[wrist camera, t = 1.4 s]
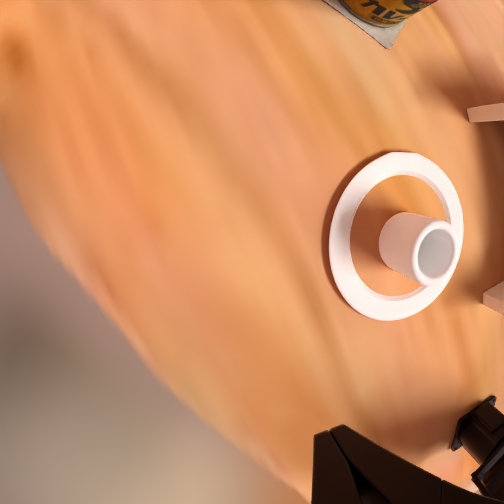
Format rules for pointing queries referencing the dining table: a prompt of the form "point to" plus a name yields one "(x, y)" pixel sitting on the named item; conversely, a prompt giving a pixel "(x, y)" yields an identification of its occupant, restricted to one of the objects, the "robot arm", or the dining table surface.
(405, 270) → the white ring with cylinder
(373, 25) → the condiment
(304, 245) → the dining table surface
